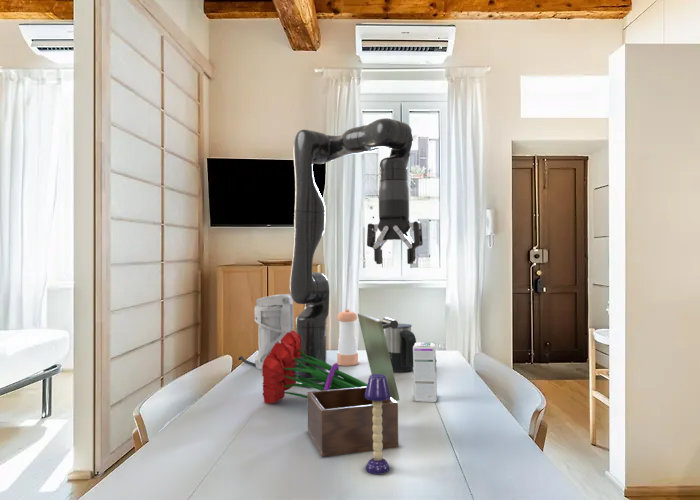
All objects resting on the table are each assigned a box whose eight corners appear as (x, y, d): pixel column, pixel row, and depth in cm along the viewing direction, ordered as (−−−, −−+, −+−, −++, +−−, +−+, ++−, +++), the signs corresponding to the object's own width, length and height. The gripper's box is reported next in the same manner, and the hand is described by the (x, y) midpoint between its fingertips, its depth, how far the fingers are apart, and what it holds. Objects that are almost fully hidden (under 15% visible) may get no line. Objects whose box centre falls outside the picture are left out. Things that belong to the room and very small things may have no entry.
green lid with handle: (377, 321, 96) (403, 314, 98) (357, 313, 109) (380, 307, 111) (396, 401, 97) (421, 392, 99) (373, 384, 110) (396, 376, 112)
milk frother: (379, 369, 163) (378, 324, 163) (409, 361, 174) (409, 320, 174) (411, 376, 153) (410, 329, 153) (442, 368, 163) (441, 324, 163)
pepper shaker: (339, 361, 177) (338, 308, 177) (359, 361, 176) (358, 308, 176) (335, 365, 169) (335, 310, 170) (356, 366, 168) (355, 310, 169)
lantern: (251, 369, 165) (250, 295, 165) (260, 362, 175) (259, 293, 176) (288, 370, 163) (287, 295, 164) (295, 363, 174) (294, 293, 174)
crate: (322, 457, 93) (321, 410, 93) (307, 432, 106) (307, 391, 106) (398, 447, 97) (397, 402, 97) (375, 424, 110) (375, 385, 110)
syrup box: (436, 402, 126) (435, 346, 126) (413, 401, 127) (412, 345, 127) (437, 396, 131) (436, 342, 132) (415, 395, 133) (414, 341, 133)
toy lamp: (364, 463, 89) (363, 372, 90) (389, 462, 90) (388, 371, 90) (367, 475, 85) (366, 379, 85) (393, 474, 85) (392, 378, 85)
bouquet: (368, 444, 114) (249, 411, 119) (376, 420, 131) (271, 392, 136) (385, 362, 114) (265, 333, 119) (391, 349, 130) (285, 323, 135)
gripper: (425, 199, 123) (426, 263, 122) (374, 202, 129) (375, 263, 129) (414, 196, 116) (415, 264, 116) (361, 200, 123) (362, 264, 123)
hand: (394, 263), depth 123 cm, fingers open, 8 cm apart
